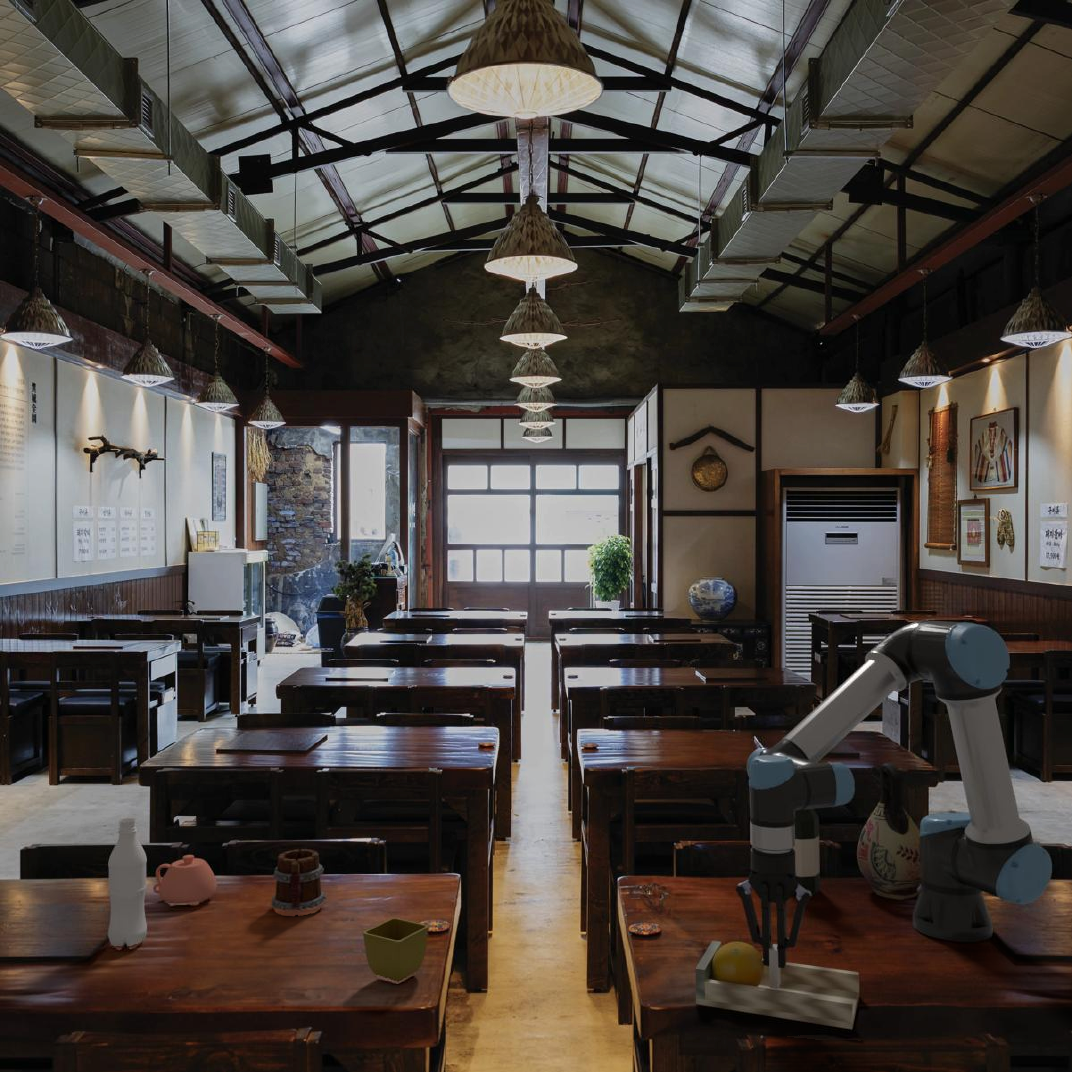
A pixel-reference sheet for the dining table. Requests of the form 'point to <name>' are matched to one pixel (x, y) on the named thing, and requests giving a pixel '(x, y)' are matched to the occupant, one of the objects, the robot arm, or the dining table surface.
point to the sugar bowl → (186, 881)
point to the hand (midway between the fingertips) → (775, 985)
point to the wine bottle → (807, 850)
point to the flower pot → (396, 948)
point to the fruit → (738, 964)
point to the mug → (298, 880)
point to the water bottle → (127, 887)
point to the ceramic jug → (890, 841)
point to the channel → (784, 993)
